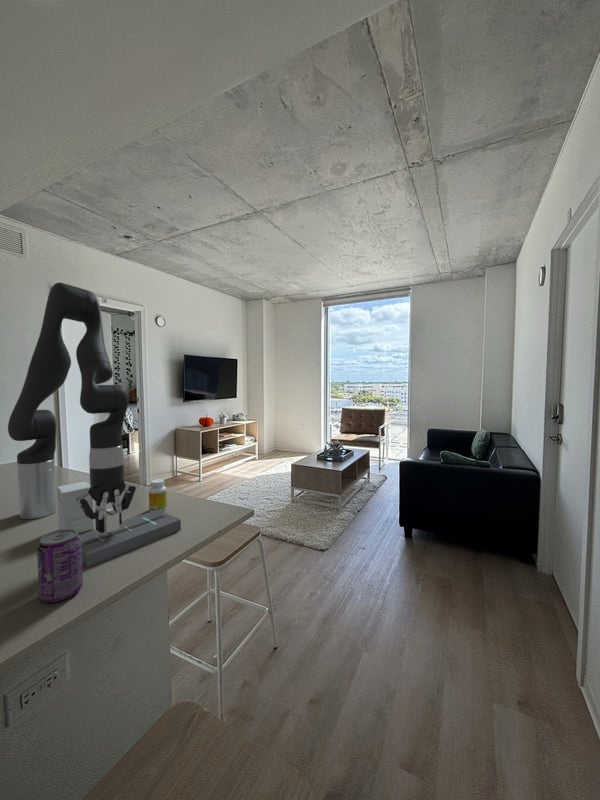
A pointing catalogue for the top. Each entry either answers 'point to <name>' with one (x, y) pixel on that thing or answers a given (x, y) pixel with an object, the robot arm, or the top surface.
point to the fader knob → (111, 520)
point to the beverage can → (59, 565)
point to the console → (127, 536)
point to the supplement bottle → (157, 496)
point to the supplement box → (73, 507)
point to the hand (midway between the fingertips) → (108, 529)
